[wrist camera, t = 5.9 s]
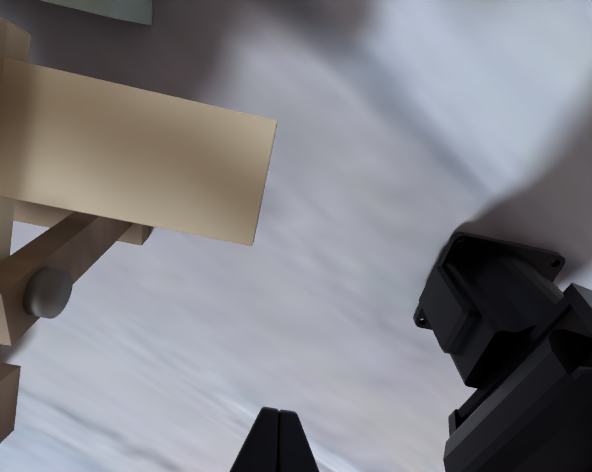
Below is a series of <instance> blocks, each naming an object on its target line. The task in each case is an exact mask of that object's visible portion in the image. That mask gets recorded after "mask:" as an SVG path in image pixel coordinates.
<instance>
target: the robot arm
mask: <svg viewBox="0 0 592 472" xmlns="http://www.w3.org/2000/svg"><path fill="white" fill-rule="evenodd" d="M463 239H464V241H463V242H462V243H461V244H457V243H458V241H459V240H463ZM553 260H555V261H554V262H553V263H551V262H552V261H553ZM564 264H565V259H564V257H563V256H561V255H560V254H559V253H557V252H553V251H548V250H544V249H539V248H534V247H530V246H525V245H520V244H516V243H511V242H506V241H502V240H497V239H492V238H488V237H483V236H478V235H474V234H469V233H464V232H458V233H455V234H454V235H452V237H451V238H450V240H449V242H448V245H447V247H446V249H445V251H444V253H443V255H442V257H441V259H440V261H439V263H438V265H436V266H435V267H434V269H433V271H432V273H431V275H430V277H429V280H428V282H427V284H426V286H425V288H424V290H423V292H422V294H421V296H420V299H419V302H420V304H419V306H418V308H417V310H416V312H415V314H414V317H413V319H414V322H415V324H416V326H417V327H420V328H425V329H430V330H433V332H434V334H435V336H436V338H437V340H438V342H439V345H440V347H441V349H442V350H443V352H444V353H448V354H450V355H451V357H452V359H453V361H454V363H455V365H456V368H457V370H458V372H459V374H460V376H461V378H462V380H463V382H464V384H465V385H466V386H468V387H473V388H477V390H476V391H475V392H474V393H473V394H472V395H471V397H470V398H469V399H468V400H467V401H466V402H465V403H464V404H463V405H462V406H461V407H460V408H459V409H456V410H454V411H453V412H452V414H451V415H450V416H449V435H450V438H449V439H448V440H447V442H446V446H445V452H444V459H443V460H444V466H445V471H446V472H592V290H590V289H587V288H584V287H582V286H579V285H577V284H574V283H571V284H570V285H569V287H568V288H567V289H566V290H565V291H564V292H562V291H561V290H560V289H559V288H558V287H556V286H555V285H554V284H553V283H552V282H553V281H554V279H555V278H556V276H557V275H558V273H559V272H560V270H561V269H562V267H563V266H564ZM422 318H425V319H424V320H420V319H422ZM230 472H319V469H318V467H317V464H316V462H315V459H314V456H313V454H312V451H311V449H310V446H309V443H308V441H307V438H306V435H305V433H304V430H303V428H302V425H301V422H300V420H299V417H298V415H297V413H296V412H294V411H288V410H280V411H278V409H276V408H269V407H263V408H262V409H261V410H260V412H259V414H258V416H257V418H256V420H255V422H254V424H253V426H252V428H251V430H250V432H249V434H248V436H247V438H246V440H245V442H244V444H243V446H242V448H241V450H240V452H239V454H238V456H237V458H236V460H235V462H234V464H233V466H232V468H231V470H230Z"/></svg>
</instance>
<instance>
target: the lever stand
mask: <svg viewBox="0 0 592 472" xmlns="http://www.w3.org/2000/svg"><path fill="white" fill-rule="evenodd" d="M13 220H14V221H19V222H24V223H29V224H34V225H39V226H45V227H50V229H48V230H47V231H46V232H44V233H43V234H41V235H40V236H38V237H37V238H35V239H34V240H32V241H31V242H30V243H28V244H27V245H25V246H24V247H22V248H21V249H19V250H18V251H16V252H15V253H14V254H12V255H11V256H9V257H8V258H6V259H5V260H3V261H2V262H0V344H3V345H9V346H12V345H13V344H14V343H15V342H16V341H17V340H18V339H19V338H20V337H21V336H22V335H23V334H24V333H25V332H26V331H27V330H28V329H29V328H30V327H31V326H32V325H33V324H34V323H35V322H36V321H37V320H38V319H39V318H40V317H43V318H49V319H51V318H55V317H56V316H58V315H59V314H60V313H61V312H62V311H63V309H64V308H65V306H66V304H67V302H68V300H69V298H70V295H71V291H72V285H73V284H74V283H75V282H76V281H77V280H78V279H79V278H80V277H81V276H82V275H83V274H84V273H85V272H86V271H87V270H88V269H89V268H90V267H91V266H92V265H93V264H94V263H95V262H96V261H97V260H98V259H99V258H100V257H101V256H102V255H103V254H104V253H105V252H106V251H107V250H108V249H109V248H110V247H111V246H112V245H113V244H114V243H115V242H116V241H122V242H127V243H132V244H137V245H143V243H144V242H145V241H146V240H147V239H148V237H149V226H148V225H143V224H138V223H133V222H128V221H123V220H118V219H113V218H108V217H103V216H98V215H93V214H88V213H83V212H78V211H73V210H68V209H63V208H58V207H53V206H48V205H43V204H38V203H33V202H28V201H23V200H18V199H15V206H14V216H13Z"/></svg>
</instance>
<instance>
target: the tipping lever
mask: <svg viewBox="0 0 592 472" xmlns="http://www.w3.org/2000/svg"><path fill="white" fill-rule="evenodd" d="M30 43H31V34H29V33H28V32H26V31H24V30H22V29H21V28H19V27H17V26H16V25H14V24H12V23H11V22H9V21H7V20H5V19H4V18H2V17H0V262H2V261H3V260H5V259H6V258H8V257H9V256H10V246H11V236H12V226H13V216H14V206H15V199H18V200H23V201H28V202H33V203H38V204H43V205H48V206H53V207H58V208H63V209H68V210H73V211H78V212H83V213H88V214H93V215H98V216H103V217H108V218H113V219H118V220H123V221H128V222H133V223H138V224H143V225H148V226H153V227H158V228H163V229H169V230H174V231H179V232H184V233H189V234H194V235H199V236H204V237H209V238H214V239H219V240H224V241H229V242H234V243H239V244H244V245H249V246H252V245H253V242H254V238H255V233H256V228H257V223H258V218H259V213H260V208H261V203H262V198H263V193H264V188H265V183H266V178H267V173H268V168H269V163H270V158H271V153H272V148H273V143H274V138H275V133H276V128H277V120H273V119H269V118H265V117H260V116H256V115H252V114H247V113H243V112H239V111H234V110H230V109H226V108H221V107H217V106H213V105H208V104H204V103H200V102H195V101H191V100H187V99H182V98H178V97H174V96H169V95H165V94H161V93H156V92H152V91H148V90H144V89H139V88H135V87H131V86H126V85H122V84H118V83H113V82H109V81H105V80H100V79H96V78H92V77H87V76H83V75H79V74H74V73H70V72H66V71H61V70H57V69H53V68H48V67H44V66H40V65H35V64H31V63H29V53H30ZM0 348H1V344H0ZM20 368H21V366H17V365H11V364H5V363H0V443H1V442H2V441H3V440H4V439H5V438H6V437H7V436H8V435H9V434H10V433H11V432H12V431H13V430H14V423H15V414H16V405H17V396H18V386H19V377H20Z"/></svg>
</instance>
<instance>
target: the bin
mask: <svg viewBox="0 0 592 472" xmlns="http://www.w3.org/2000/svg"><path fill="white" fill-rule="evenodd" d="M41 1H45V2H49V3H53V4H57V5H61V6H66V7H70V8H74V9H78V10H82V11H86V12H90V13H94V14H98V15H102V16H106V17H110V18H115V19H120V20H125V21H130V22H135V23H141V24H146V25H151V26H152V0H41Z"/></svg>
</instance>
